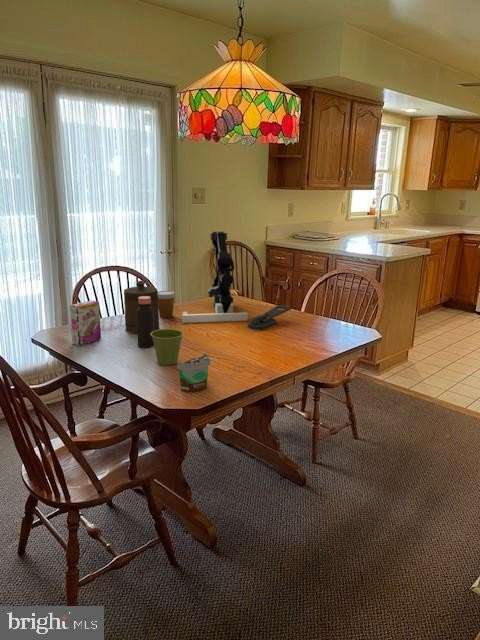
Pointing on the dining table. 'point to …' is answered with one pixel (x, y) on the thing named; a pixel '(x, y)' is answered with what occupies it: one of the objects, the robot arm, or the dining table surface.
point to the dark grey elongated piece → (264, 322)
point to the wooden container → (132, 305)
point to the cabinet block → (220, 308)
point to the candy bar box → (85, 322)
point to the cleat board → (214, 317)
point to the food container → (194, 374)
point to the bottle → (145, 322)
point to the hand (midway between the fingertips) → (224, 312)
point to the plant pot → (167, 345)
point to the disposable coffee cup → (166, 303)
